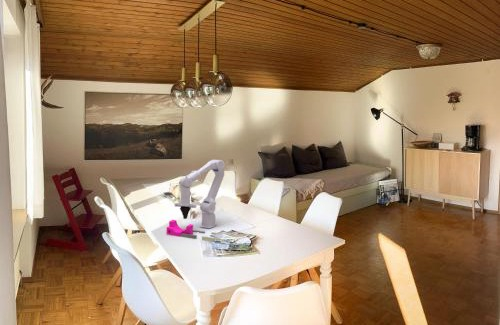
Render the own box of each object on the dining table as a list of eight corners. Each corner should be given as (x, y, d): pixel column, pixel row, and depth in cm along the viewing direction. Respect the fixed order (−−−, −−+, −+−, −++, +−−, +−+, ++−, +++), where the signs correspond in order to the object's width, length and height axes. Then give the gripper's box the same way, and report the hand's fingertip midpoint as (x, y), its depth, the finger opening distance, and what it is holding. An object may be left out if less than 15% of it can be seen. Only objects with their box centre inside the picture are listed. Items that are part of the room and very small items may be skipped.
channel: (180, 231, 245) (180, 228, 245) (205, 234, 238) (205, 231, 238) (170, 235, 234) (170, 232, 234) (195, 239, 228) (195, 235, 228)
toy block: (166, 234, 236) (166, 222, 234) (172, 230, 242) (172, 219, 240) (186, 239, 230) (187, 228, 228) (192, 236, 235) (193, 224, 234)
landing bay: (212, 235, 237) (212, 232, 237) (240, 238, 230) (240, 235, 230) (201, 240, 226) (201, 236, 225) (231, 243, 218) (231, 240, 218)
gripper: (171, 197, 238) (171, 218, 239) (192, 198, 233) (192, 220, 234) (178, 195, 245) (178, 216, 246) (198, 197, 239) (198, 218, 240)
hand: (185, 218), depth 240 cm, fingers closed
